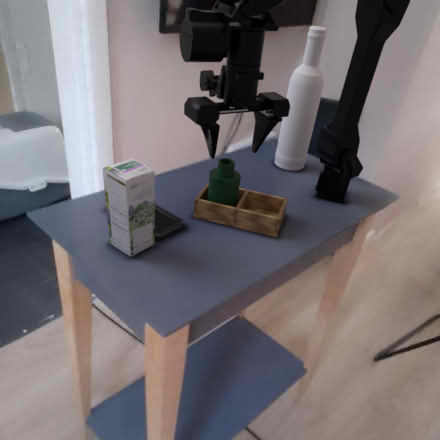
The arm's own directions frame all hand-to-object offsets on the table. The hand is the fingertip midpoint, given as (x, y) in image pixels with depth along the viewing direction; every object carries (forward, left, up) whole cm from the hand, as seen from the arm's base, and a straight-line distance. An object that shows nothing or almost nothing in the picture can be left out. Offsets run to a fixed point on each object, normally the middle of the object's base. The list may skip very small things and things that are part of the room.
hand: (233, 155), depth 74 cm
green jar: (+1, +2, -11) cm, 11 cm away
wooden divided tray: (-3, +2, -12) cm, 12 cm away
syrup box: (+12, +20, -12) cm, 26 cm away
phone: (+14, +11, -12) cm, 21 cm away
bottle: (-8, -29, -12) cm, 33 cm away
